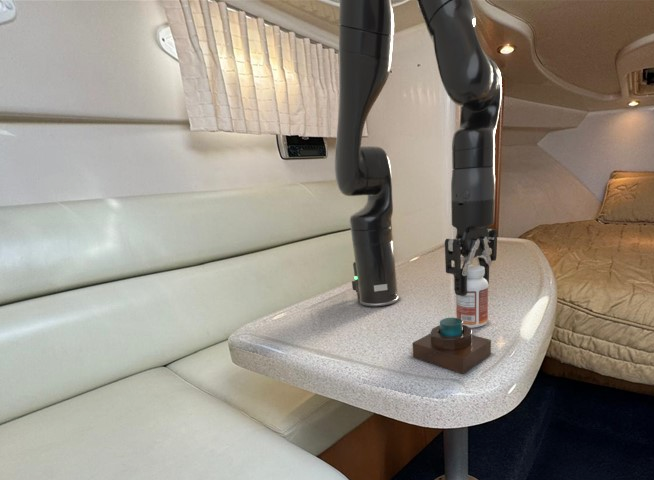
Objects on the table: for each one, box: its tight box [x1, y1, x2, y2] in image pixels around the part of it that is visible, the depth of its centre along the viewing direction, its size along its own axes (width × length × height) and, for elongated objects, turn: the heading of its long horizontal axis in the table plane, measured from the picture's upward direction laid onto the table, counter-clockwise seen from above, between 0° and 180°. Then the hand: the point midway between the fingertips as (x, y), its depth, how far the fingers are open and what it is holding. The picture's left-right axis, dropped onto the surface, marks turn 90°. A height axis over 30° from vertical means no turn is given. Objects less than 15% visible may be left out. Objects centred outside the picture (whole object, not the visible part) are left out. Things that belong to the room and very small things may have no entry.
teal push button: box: [439, 317, 463, 336], centre depth 58 cm, size 4×4×2 cm
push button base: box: [412, 324, 492, 375], centre depth 59 cm, size 10×8×4 cm
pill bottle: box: [455, 264, 489, 329], centre depth 71 cm, size 6×6×11 cm
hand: (472, 289), depth 70 cm, fingers open, 7 cm apart
